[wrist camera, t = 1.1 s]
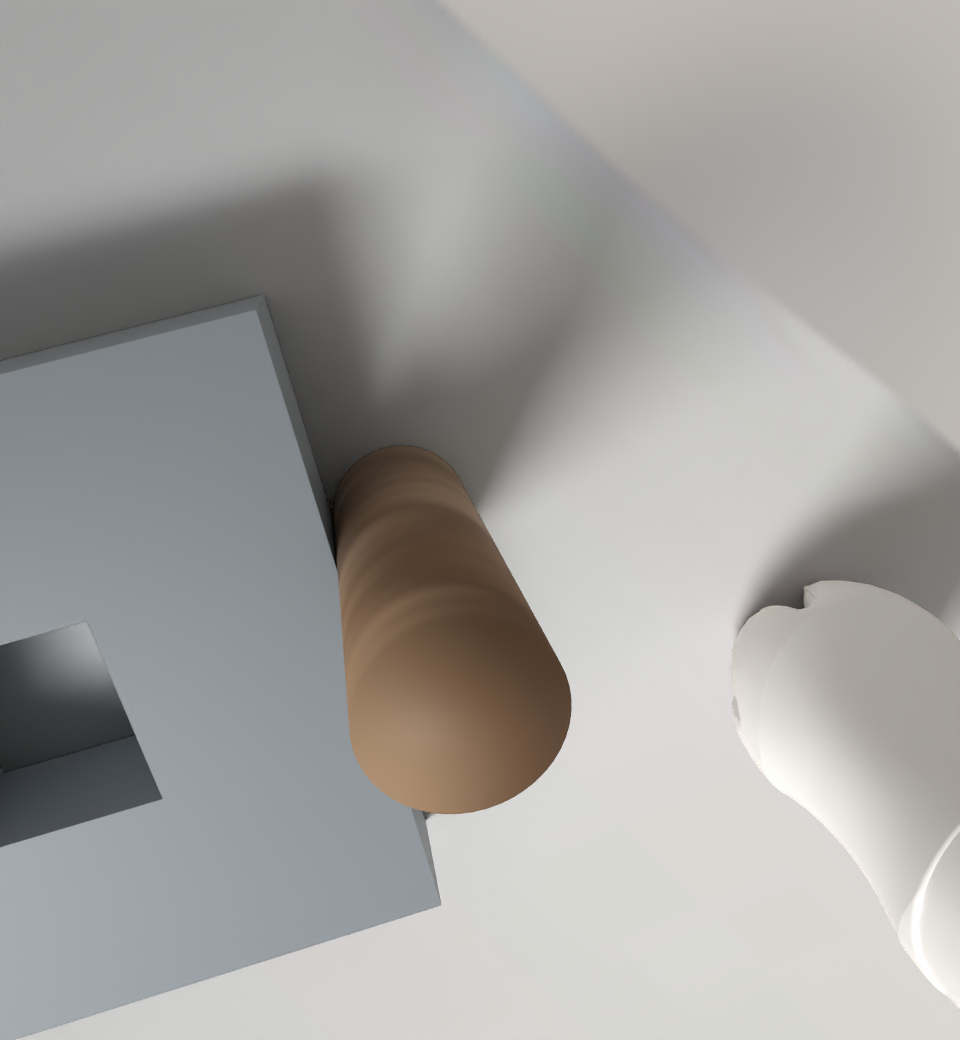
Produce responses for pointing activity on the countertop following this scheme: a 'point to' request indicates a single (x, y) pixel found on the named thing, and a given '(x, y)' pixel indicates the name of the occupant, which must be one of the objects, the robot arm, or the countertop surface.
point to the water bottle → (866, 746)
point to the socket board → (182, 676)
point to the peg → (438, 642)
